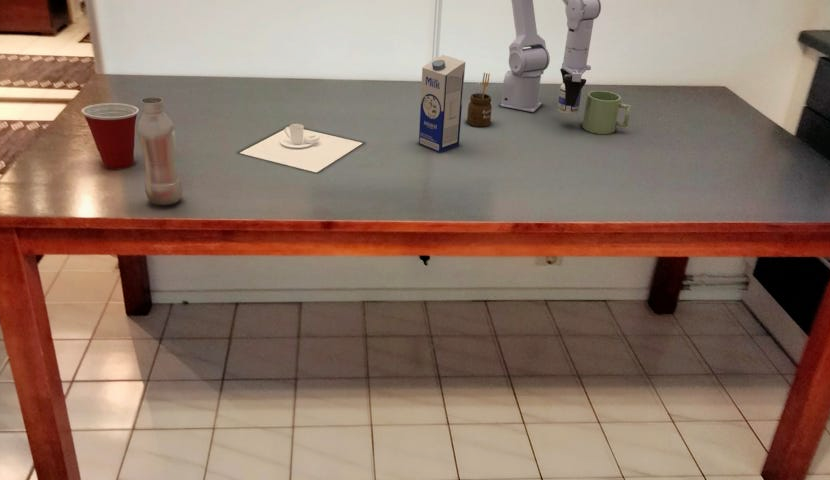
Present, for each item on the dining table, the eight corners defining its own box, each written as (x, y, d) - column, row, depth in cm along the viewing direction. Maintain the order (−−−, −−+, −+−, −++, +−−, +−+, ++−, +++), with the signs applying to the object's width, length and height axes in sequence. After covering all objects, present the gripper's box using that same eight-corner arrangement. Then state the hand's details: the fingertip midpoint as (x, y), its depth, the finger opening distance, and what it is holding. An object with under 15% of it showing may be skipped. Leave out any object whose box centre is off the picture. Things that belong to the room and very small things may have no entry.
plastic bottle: (151, 194, 148) (136, 94, 137) (187, 194, 149) (174, 95, 138) (143, 209, 142) (127, 105, 132) (180, 209, 143) (167, 106, 133)
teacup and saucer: (324, 141, 176) (324, 124, 174) (305, 152, 170) (305, 135, 167) (292, 134, 179) (291, 117, 177) (272, 144, 173) (271, 127, 170)
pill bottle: (577, 108, 194) (582, 74, 190) (578, 115, 190) (584, 80, 185) (556, 106, 195) (561, 72, 190) (557, 113, 190) (562, 78, 186)
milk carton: (459, 145, 179) (466, 60, 168) (440, 152, 174) (445, 66, 164) (437, 137, 183) (442, 53, 172) (418, 143, 178) (422, 58, 168)
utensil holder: (463, 124, 191) (467, 77, 185) (471, 117, 196) (475, 71, 190) (485, 128, 189) (490, 81, 183) (493, 121, 194) (498, 74, 188)
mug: (579, 130, 192) (584, 97, 188) (586, 120, 199) (591, 88, 194) (622, 138, 189) (629, 105, 184) (628, 128, 195) (635, 96, 191)
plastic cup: (157, 159, 162) (149, 104, 156) (124, 177, 154) (114, 120, 147) (115, 150, 165) (105, 96, 159) (80, 168, 156) (68, 111, 150)
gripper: (597, 56, 178) (588, 112, 185) (590, 40, 190) (581, 93, 197) (567, 54, 178) (559, 110, 185) (562, 38, 190) (554, 91, 197)
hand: (568, 101), depth 191 cm, fingers closed on pill bottle, 5 cm apart
